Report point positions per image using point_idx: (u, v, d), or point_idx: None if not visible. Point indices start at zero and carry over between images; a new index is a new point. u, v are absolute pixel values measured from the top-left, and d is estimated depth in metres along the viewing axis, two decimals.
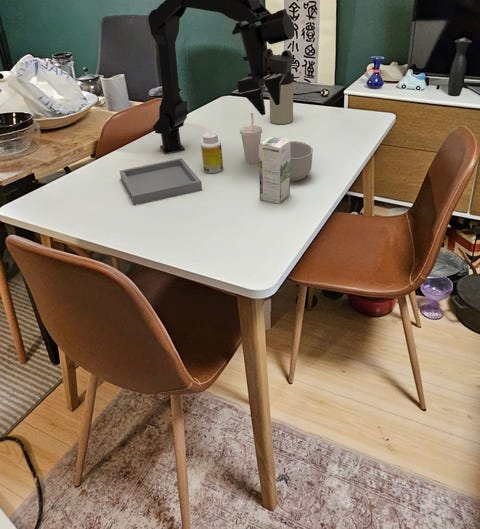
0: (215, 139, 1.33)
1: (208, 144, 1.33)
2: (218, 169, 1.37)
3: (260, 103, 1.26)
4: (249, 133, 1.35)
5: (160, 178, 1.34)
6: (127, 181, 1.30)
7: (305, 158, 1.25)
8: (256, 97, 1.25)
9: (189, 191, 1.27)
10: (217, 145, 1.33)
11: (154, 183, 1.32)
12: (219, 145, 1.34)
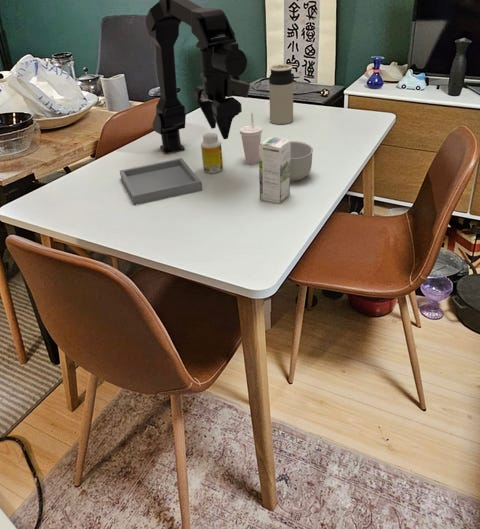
0: (215, 139, 1.33)
1: (208, 144, 1.33)
2: (218, 169, 1.37)
3: (228, 127, 1.19)
4: (249, 133, 1.35)
5: (160, 178, 1.34)
6: (127, 181, 1.30)
7: (305, 158, 1.25)
8: (225, 120, 1.18)
9: (189, 191, 1.27)
10: (217, 145, 1.33)
11: (154, 183, 1.32)
12: (219, 145, 1.34)
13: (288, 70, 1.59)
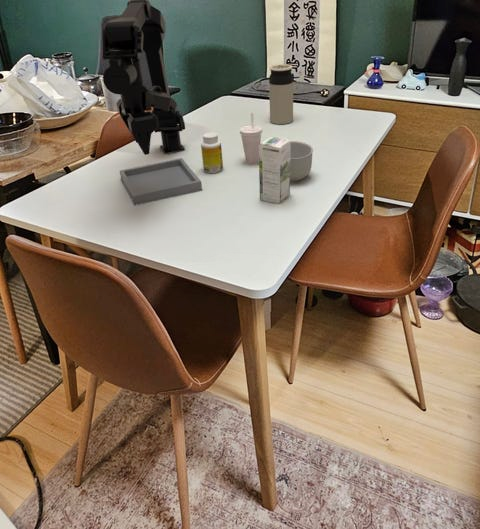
0: (215, 139, 1.33)
1: (208, 144, 1.33)
2: (218, 169, 1.37)
3: (148, 142, 1.14)
4: (249, 133, 1.35)
5: (160, 178, 1.34)
6: (127, 181, 1.30)
7: (305, 158, 1.25)
8: (143, 136, 1.13)
9: (189, 191, 1.27)
10: (217, 145, 1.33)
11: (154, 183, 1.32)
12: (219, 145, 1.34)
13: (288, 70, 1.59)
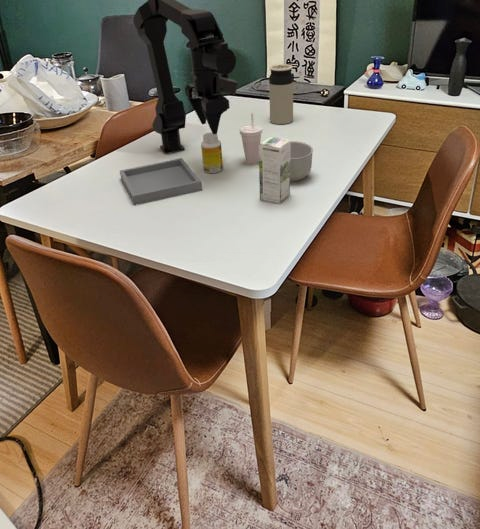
0: (215, 139, 1.33)
1: (208, 144, 1.33)
2: (218, 169, 1.37)
3: (217, 122, 1.26)
4: (249, 133, 1.35)
5: (160, 178, 1.34)
6: (127, 181, 1.30)
7: (305, 158, 1.25)
8: (214, 116, 1.25)
9: (189, 191, 1.27)
10: (217, 145, 1.33)
11: (154, 183, 1.32)
12: (219, 145, 1.34)
13: (288, 70, 1.59)
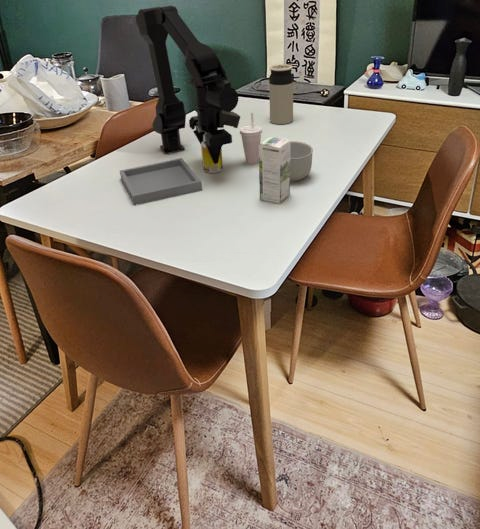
0: None
1: None
2: (218, 169, 1.37)
3: (218, 153, 1.33)
4: (249, 133, 1.35)
5: (160, 178, 1.34)
6: (127, 181, 1.30)
7: (305, 158, 1.25)
8: (215, 147, 1.31)
9: (189, 191, 1.27)
10: None
11: (154, 183, 1.32)
12: None
13: (288, 70, 1.59)
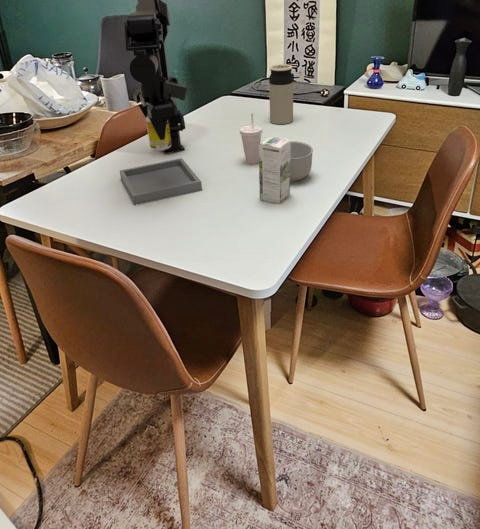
0: None
1: None
2: (165, 146, 1.25)
3: (163, 127, 1.21)
4: (249, 133, 1.35)
5: (160, 178, 1.34)
6: (127, 181, 1.30)
7: (305, 158, 1.25)
8: (160, 121, 1.20)
9: (189, 191, 1.27)
10: None
11: (154, 183, 1.32)
12: None
13: (288, 70, 1.59)
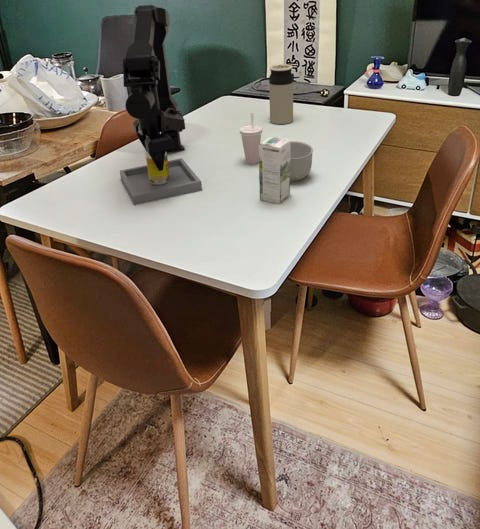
0: None
1: None
2: (164, 181, 1.30)
3: (162, 159, 1.24)
4: (249, 133, 1.35)
5: None
6: (127, 181, 1.30)
7: (305, 158, 1.25)
8: (158, 154, 1.23)
9: (189, 191, 1.27)
10: None
11: None
12: None
13: (288, 70, 1.59)
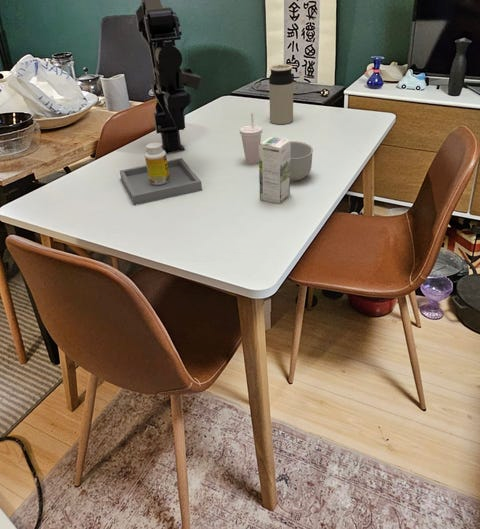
0: (158, 150, 1.26)
1: (151, 155, 1.26)
2: (163, 181, 1.30)
3: (180, 117, 1.28)
4: (249, 133, 1.35)
5: None
6: (127, 181, 1.30)
7: (305, 158, 1.25)
8: (177, 111, 1.27)
9: (189, 191, 1.27)
10: (161, 156, 1.27)
11: None
12: (163, 156, 1.27)
13: (288, 70, 1.59)
